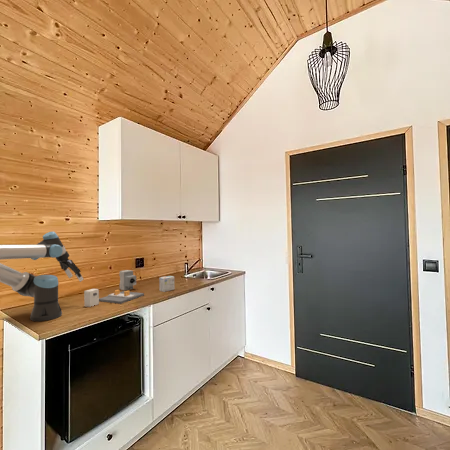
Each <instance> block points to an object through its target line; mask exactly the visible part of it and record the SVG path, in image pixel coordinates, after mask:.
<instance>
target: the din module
mask: <svg viewBox="0 0 450 450" xmlns="http://www.w3.org/2000/svg"><path fill="white" fill-rule="evenodd" d="M99 291H100V289H98V288H91V289H87V290H84V291H83V292H84V296H83V297H84V300H83V301H84V303H83V304H84V307H87V308H92V307H95V306H98V305H99V304H100V301H99V299H100V292H99ZM94 305H95V306H94ZM91 306H92V307H91Z"/></svg>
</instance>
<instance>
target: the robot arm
mask: <svg viewBox="0 0 450 450" xmlns="http://www.w3.org/2000/svg"><path fill="white" fill-rule="evenodd" d="M42 239H43V240H41V241H39V242H38V243H36V244H0V260H21V259H30V260H33V261H37V260H39V259H41V258H53V259H54V258H55V260H57V262H59V266H60V268H61V270H63V271H64V273H65V274H66V276H67V277H68V278H69V279H71V278H72V277H74V275H75V276H76V278H77V279H78V281H79V282H82V281H83V280H84V277H83V275H82V273H81V272H82V271H81V270H80V269H79V267H78V266H77V265H76V264H75V263H74V261H73V260H72V259H70V258H69V257H70V254H69V252H68V251H67V249H66V248H65V247H66V246H65V245H64V243H63V242H62V241H61V239H60V237H59V235H58V234H57V233H56V231H49V232H46V233H45V234H44V235H42ZM71 271H72V272H73V273H74V275H73V273H72V272H71ZM0 283H1V284H4V285H7V286H9V287H11V289H12V291H14V292H15V293H18V295H21V296H22V297H23V296H24V297H30V298H33V306H32V310H31V312H30V313H31V314H30V316H29V318H30V319H29V320H30V321H31V320H32V321H31V322H46V321H51V320H54V319H55V320H56V319H58V318H60V317H61V316H63V312H62V311H63V310H62V308H61V306H60V302H59V278H58V277H57V275H53V274H41V275H40V274H39V275H34V274H33V273H30V272H28V271H23V272H21V271H19V270H17V269H14V268H12V267H11V266H8V265H5V264H4V263H1V262H0ZM50 319H51V320H50ZM45 320H46V321H45Z"/></svg>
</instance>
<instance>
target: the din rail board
mask: <svg viewBox="0 0 450 450" xmlns="http://www.w3.org/2000/svg"><path fill="white" fill-rule="evenodd" d="M120 290H121V289H116V290H114V291H113V293H110V294H107V296H103V297H99V302H102V303H112V304H120V305H121V304H124V303H127V302H130V301H133V300H135V299H139V298H140V297H143V296H145V293H143V292H133V291H130V290H121V291H120Z"/></svg>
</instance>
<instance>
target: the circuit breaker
mask: <svg viewBox="0 0 450 450" xmlns="http://www.w3.org/2000/svg"><path fill="white" fill-rule="evenodd" d="M118 276H119V290H121V291H130V290H133V289H134V286H137V275H134V271H133V270H132V269H131V270H130V269H125V270H119V274H118Z"/></svg>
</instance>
